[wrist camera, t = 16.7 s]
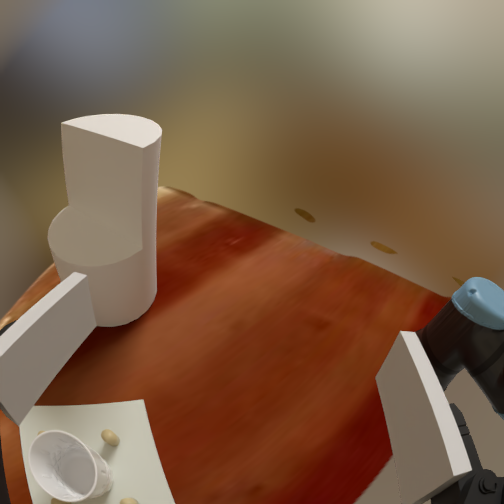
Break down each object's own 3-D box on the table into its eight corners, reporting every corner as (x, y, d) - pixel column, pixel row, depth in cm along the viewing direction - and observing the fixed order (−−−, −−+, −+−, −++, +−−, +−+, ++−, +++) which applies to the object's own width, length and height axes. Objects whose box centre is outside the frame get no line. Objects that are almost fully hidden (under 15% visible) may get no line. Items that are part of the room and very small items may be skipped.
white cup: (107, 442, 26) (84, 426, 20) (127, 497, 21) (109, 499, 15) (55, 448, 23) (21, 431, 16) (72, 502, 18) (39, 502, 11)
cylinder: (110, 241, 54) (105, 108, 36) (175, 280, 51) (189, 130, 33) (50, 291, 41) (10, 144, 23) (114, 345, 38) (78, 178, 20)
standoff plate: (187, 532, 20) (188, 537, 18) (46, 534, 12) (33, 536, 10) (143, 401, 33) (140, 392, 31) (21, 407, 25) (8, 397, 23)
